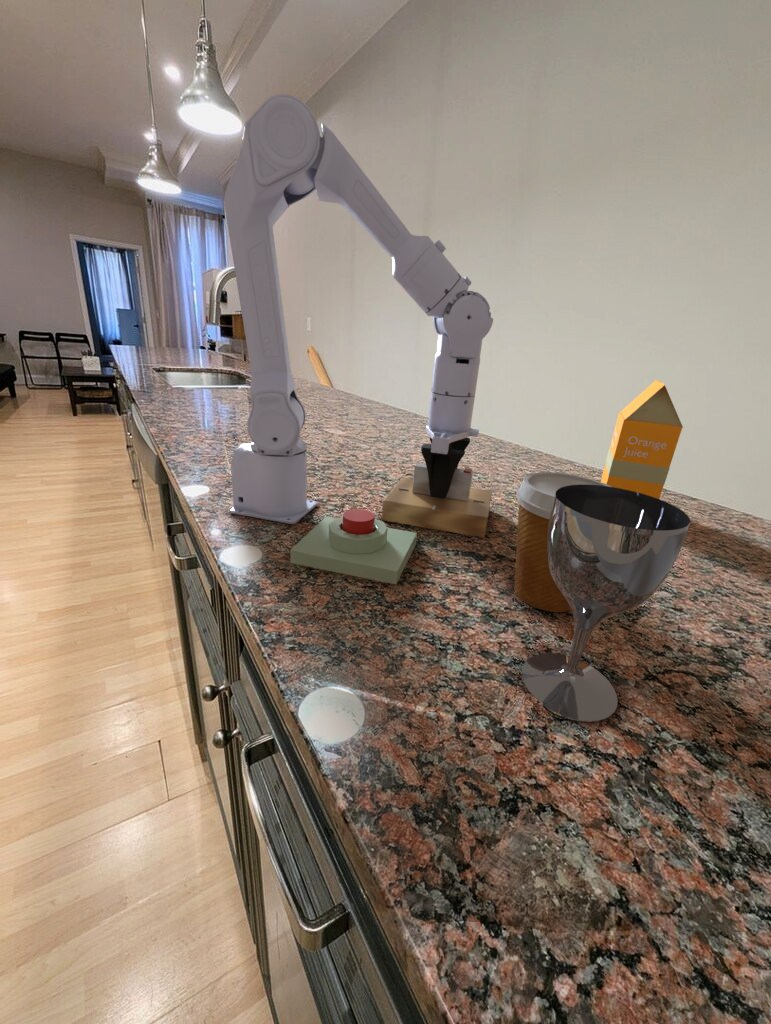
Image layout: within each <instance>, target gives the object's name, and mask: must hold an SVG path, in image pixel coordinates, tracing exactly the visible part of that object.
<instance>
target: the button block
mask: <svg viewBox="0 0 771 1024" xmlns="http://www.w3.org/2000/svg"><path fill="white" fill-rule="evenodd" d="M342 522H343V516H340V517H337V518H335V517H330V516H325V517H324V518H323V519H322V520H321V521H320V522H318V524H316V525H315V526H313V528H312V529H311V530H310V531H309V532H308V533H307V534H306V535H304V536H303V538H301V539H300V540H299V541H298V542H297V543H296V544H295V545H294V546H292V548H291V549H290V550H289V553H290V555H289V556H290V557H289V559H290V560H289V561H290V564H294V565H298V566H303V567H308V568H312V569H313V568H314V569H318V570H322V571H328V572H333V573H338V574H343V575H348V576H352V577H356V578H357V577H358V578H362V579H367V580H372V581H377V582H382V583H387V584H391V585H397V584H398V583H399V580H400V578H401V576H402V574H403V572H404V570H405V568H406V567H407V564H408V562H409V560H410V557H411V555H412V553H413V551H414V549H415V547H416V546H417V538H418V532H415V531H410V530H404V529H403V530H402V529H398V528H392V527H387V525H386V524H385V522H384V521H383V520H380V519H378V518H376V517H375V521H374V531H373V532H372V533H369V534H365V535H355V534H350V533H346V532H344V531H343V530H342Z"/></svg>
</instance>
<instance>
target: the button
mask: <svg viewBox="0 0 771 1024" xmlns="http://www.w3.org/2000/svg"><path fill="white" fill-rule="evenodd" d="M342 517H343V522H342V530H343V531H344V532H346V533H350V534H355V535H365V534H369V533H372V532H373V531H374V521H375V518H376V516H375V514H374V513H373V512H372V511H369V510H367V509H360V508H353V509H348V510H345V511H344V512H343V513H342Z"/></svg>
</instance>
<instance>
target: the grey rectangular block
mask: <svg viewBox="0 0 771 1024" xmlns="http://www.w3.org/2000/svg"><path fill="white" fill-rule="evenodd" d="M473 475H474V470H473V469H472V468H468V467H464V469H462V468H458V467H457V468H456V469H455V472H454V474H453V478H452V481H451V485H450V488H449V491H448V494H447V496H446V498H450V499H457V500H463V501H468V500H469V496H470V489H471V488H472V482H473ZM412 479H413V488H412V493H418V494H425V495H430V489H429V478H428V470H427V466H426V463H421V462H416V463H415V465H414V469H413V477H412Z"/></svg>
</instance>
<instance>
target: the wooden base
mask: <svg viewBox="0 0 771 1024" xmlns="http://www.w3.org/2000/svg"><path fill="white" fill-rule="evenodd" d="M412 488H413V478H408V477H407V478H406V477H401V478H400V480H399V481H398V482H396V484H395V486H394V487H393V488H392V489H391V490H390V492H389V493H388V494H387V495H386V496H385V498H384V499H383V500H382V512H381V514H382V515H381V521H386V522H390V523H391V522H392V523H398V524H402V525H409V526H415V527H421V528H425V529H426V528H427V529H430V530H431V529H432V530H437V531H443V532H450V533H453V534H454V533H455V534H460V535H466V536H472V537H478V538H485V536H486V531H487V524H488V519H489V512H490V507H491V501H492V495H493V491H492V490H488V489H480V488H475V487H471V489H470V496H469V500H468V501H463V500H457V499H450V498H445V499H443V498H437V497H431V495H425V494H418V493H412Z"/></svg>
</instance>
